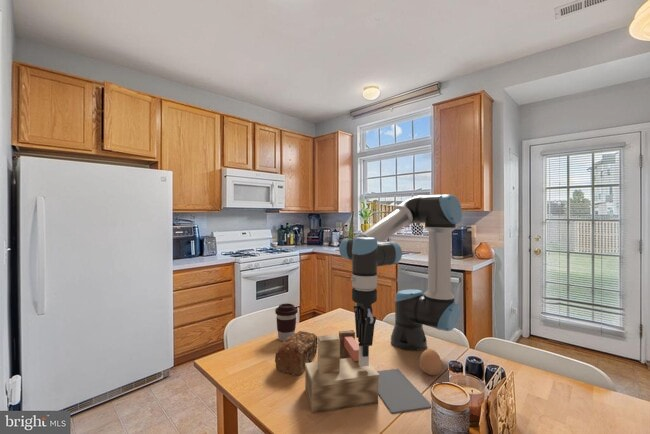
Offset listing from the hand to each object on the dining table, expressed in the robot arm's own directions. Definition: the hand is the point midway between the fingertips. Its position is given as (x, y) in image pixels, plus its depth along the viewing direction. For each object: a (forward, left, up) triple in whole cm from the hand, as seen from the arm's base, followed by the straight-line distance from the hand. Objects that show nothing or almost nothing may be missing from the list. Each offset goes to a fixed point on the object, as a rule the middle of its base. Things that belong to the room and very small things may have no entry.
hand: (363, 365), depth 92 cm
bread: (+17, -27, -11) cm, 33 cm away
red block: (0, -13, -1) cm, 13 cm away
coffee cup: (+19, -50, -11) cm, 54 cm away
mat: (-12, -3, -10) cm, 16 cm away
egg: (-28, -9, -11) cm, 32 cm away
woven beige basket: (+6, -8, -10) cm, 14 cm away
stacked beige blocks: (+7, -2, -2) cm, 7 cm away
